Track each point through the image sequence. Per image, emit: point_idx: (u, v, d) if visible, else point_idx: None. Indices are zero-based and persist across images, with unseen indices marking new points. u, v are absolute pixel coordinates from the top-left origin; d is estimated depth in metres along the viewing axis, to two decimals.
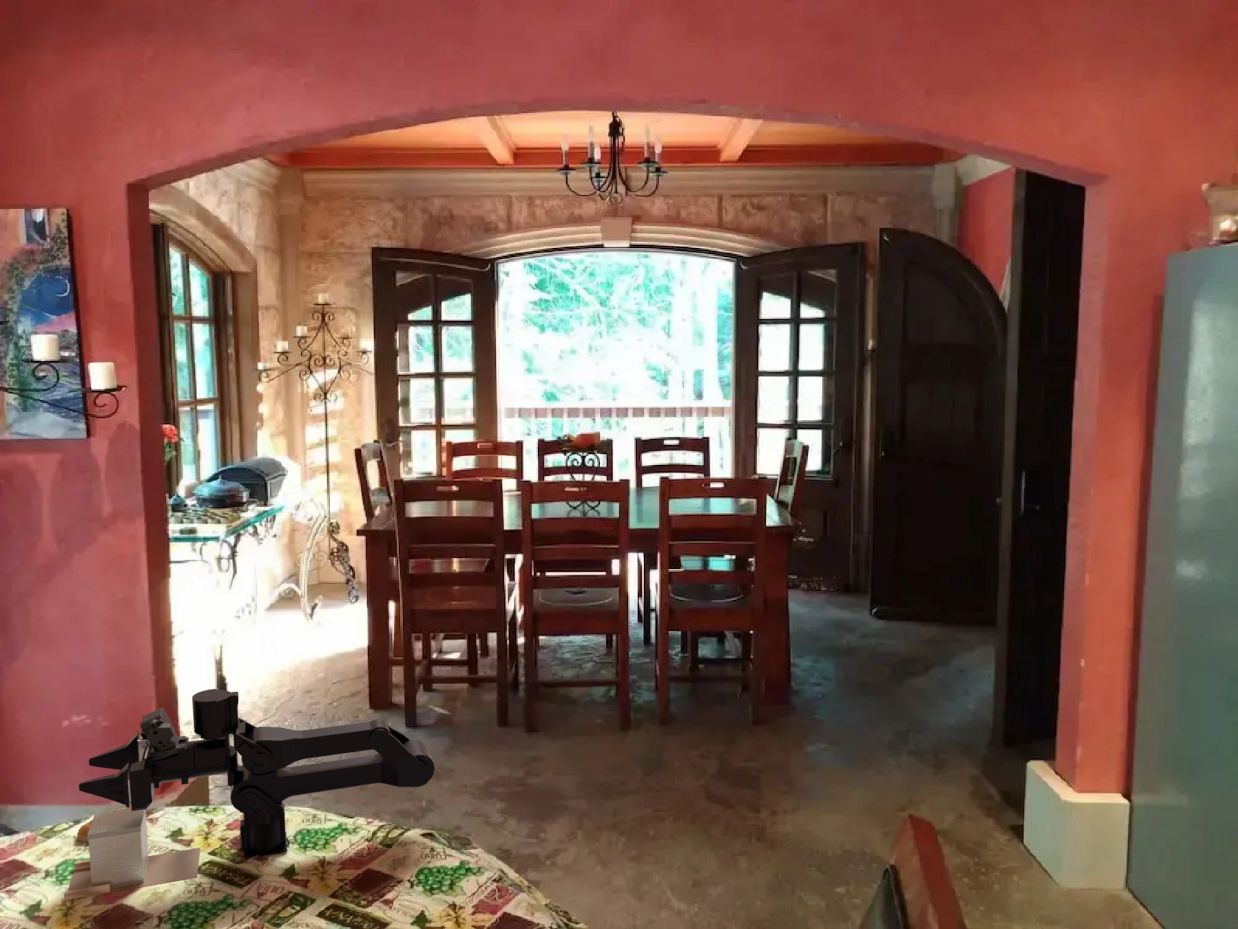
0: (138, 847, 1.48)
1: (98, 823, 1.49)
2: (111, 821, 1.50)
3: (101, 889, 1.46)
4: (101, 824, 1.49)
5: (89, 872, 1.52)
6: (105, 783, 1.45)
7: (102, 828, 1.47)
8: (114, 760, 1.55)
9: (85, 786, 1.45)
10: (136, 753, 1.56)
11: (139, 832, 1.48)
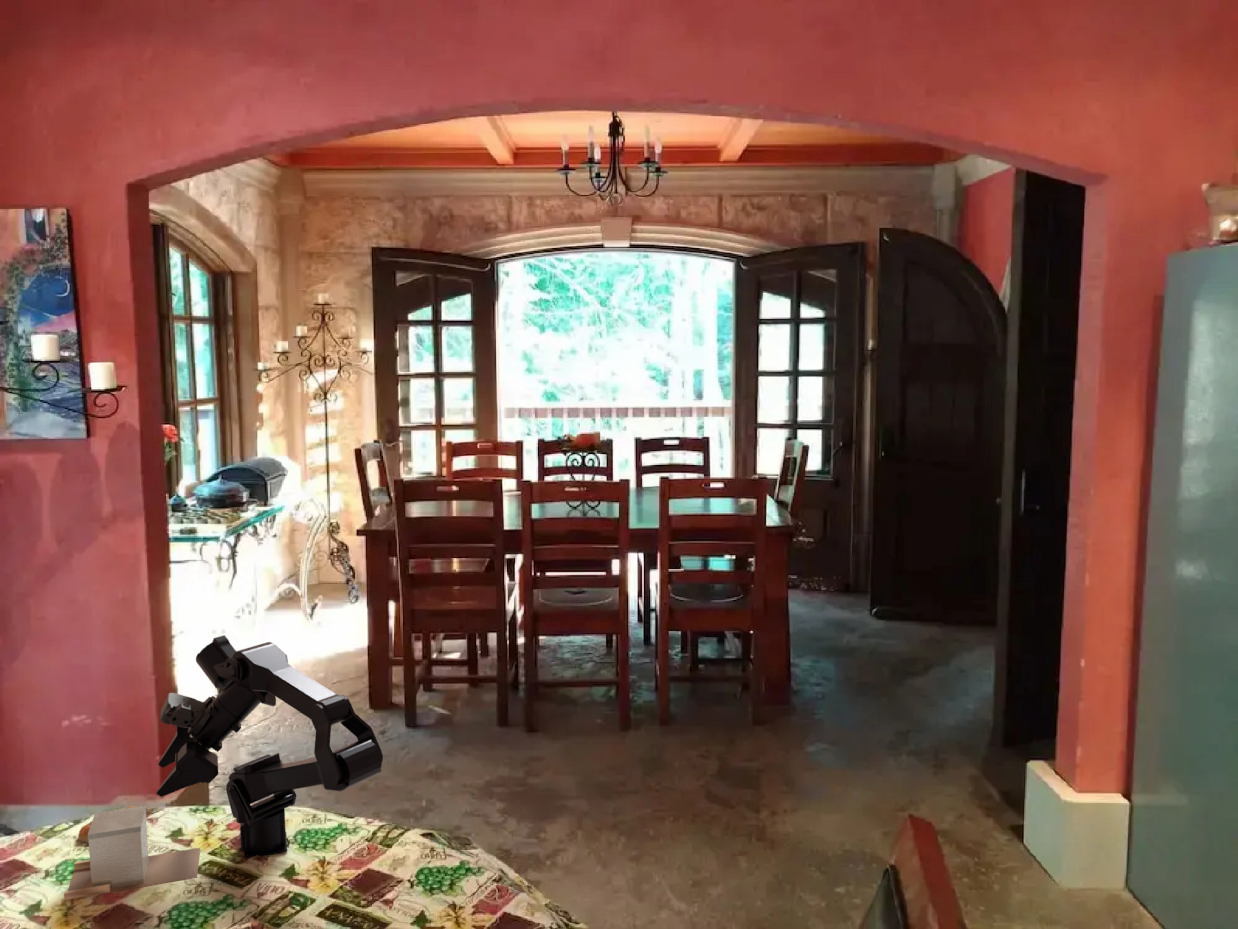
0: (138, 847, 1.48)
1: (98, 823, 1.49)
2: (111, 821, 1.50)
3: (101, 889, 1.46)
4: (101, 824, 1.49)
5: (89, 872, 1.52)
6: (173, 779, 1.52)
7: (102, 828, 1.47)
8: (177, 750, 1.62)
9: (162, 791, 1.52)
10: None
11: (139, 832, 1.48)
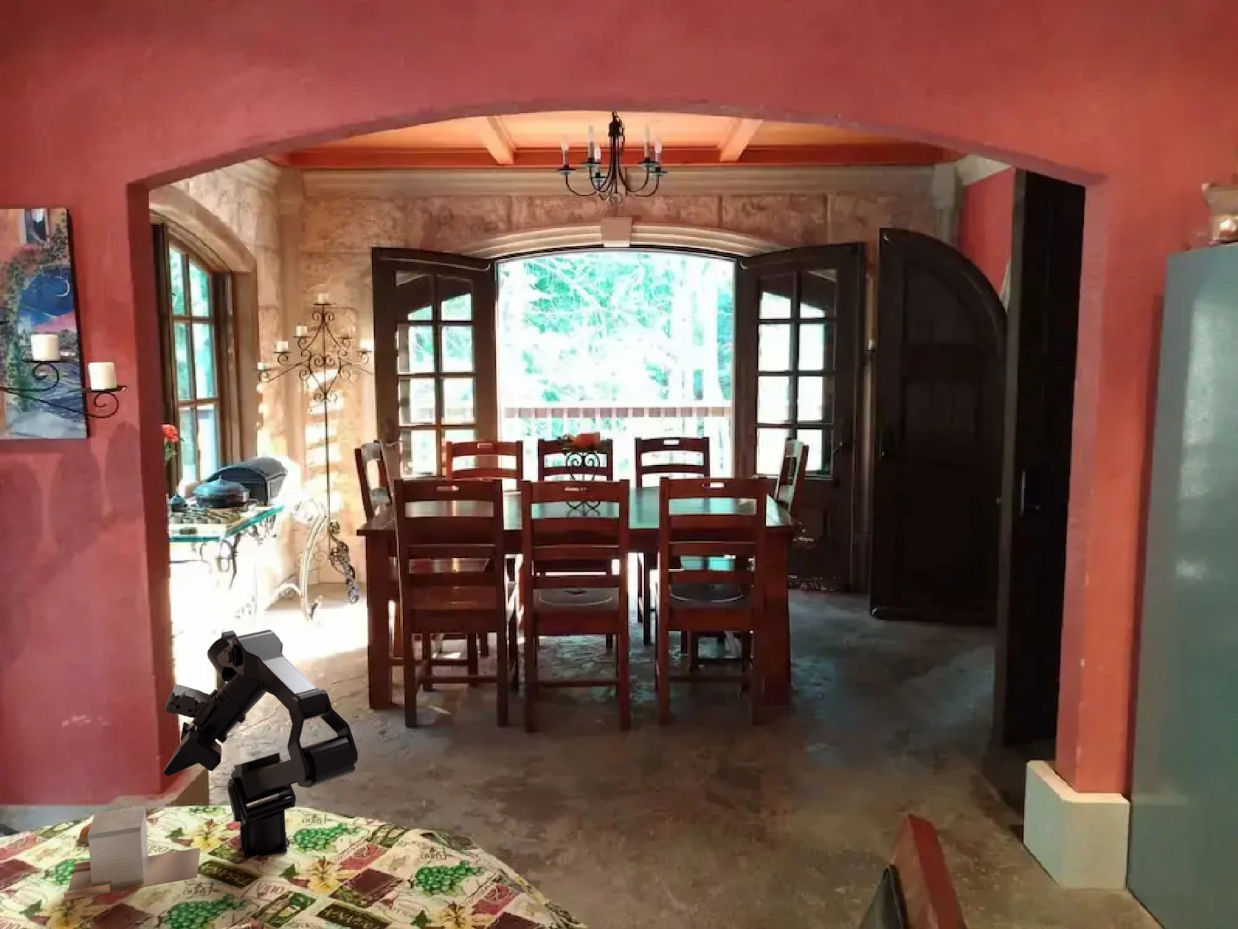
0: (138, 847, 1.48)
1: (98, 823, 1.49)
2: (111, 821, 1.50)
3: (101, 889, 1.46)
4: (101, 824, 1.49)
5: (89, 872, 1.52)
6: (179, 757, 1.55)
7: (102, 828, 1.47)
8: None
9: (168, 770, 1.56)
10: None
11: (139, 832, 1.48)
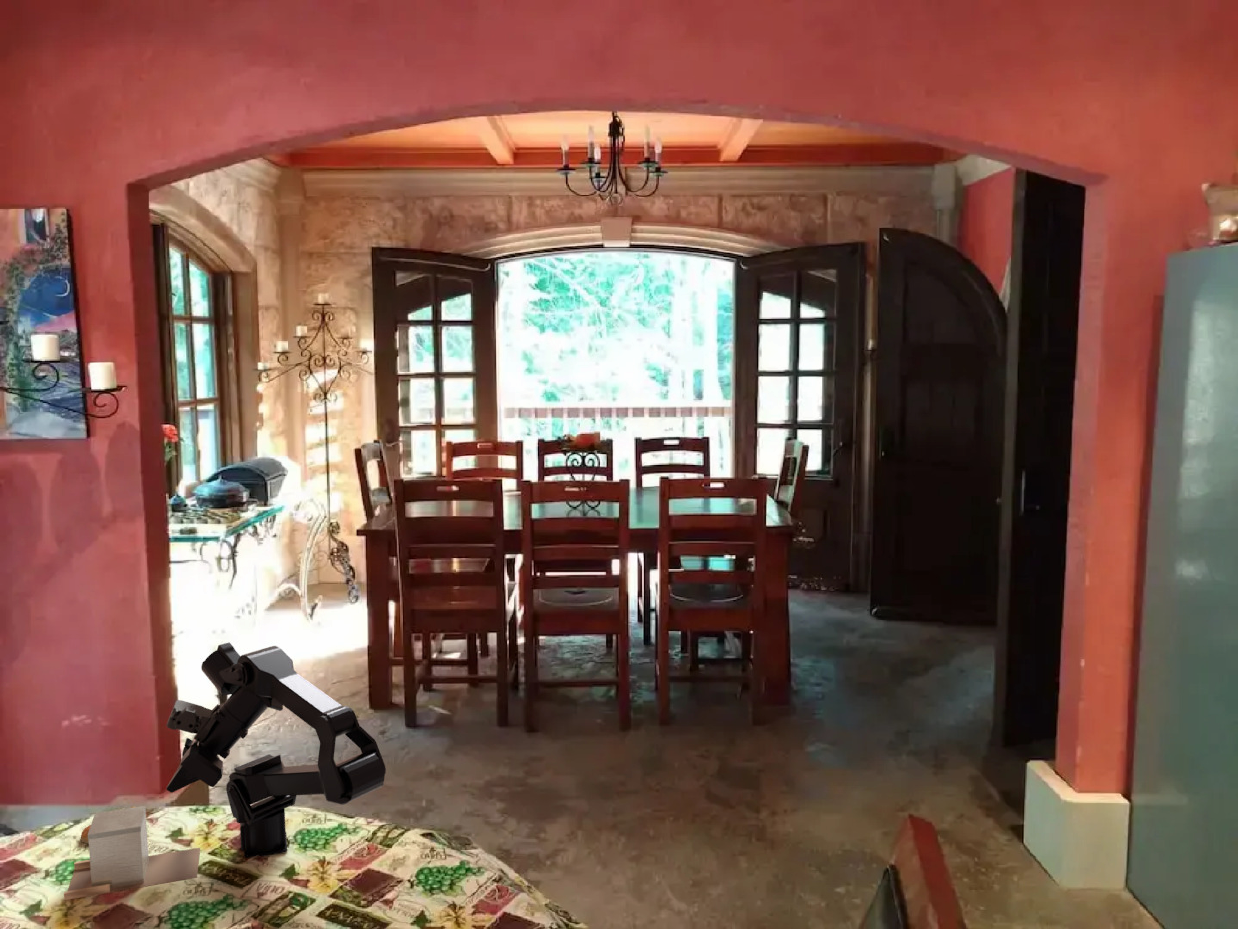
0: (138, 847, 1.48)
1: (98, 823, 1.49)
2: (111, 821, 1.50)
3: (101, 889, 1.46)
4: (101, 824, 1.49)
5: (89, 872, 1.52)
6: (181, 773, 1.55)
7: (102, 828, 1.47)
8: None
9: (171, 786, 1.55)
10: None
11: (139, 832, 1.48)
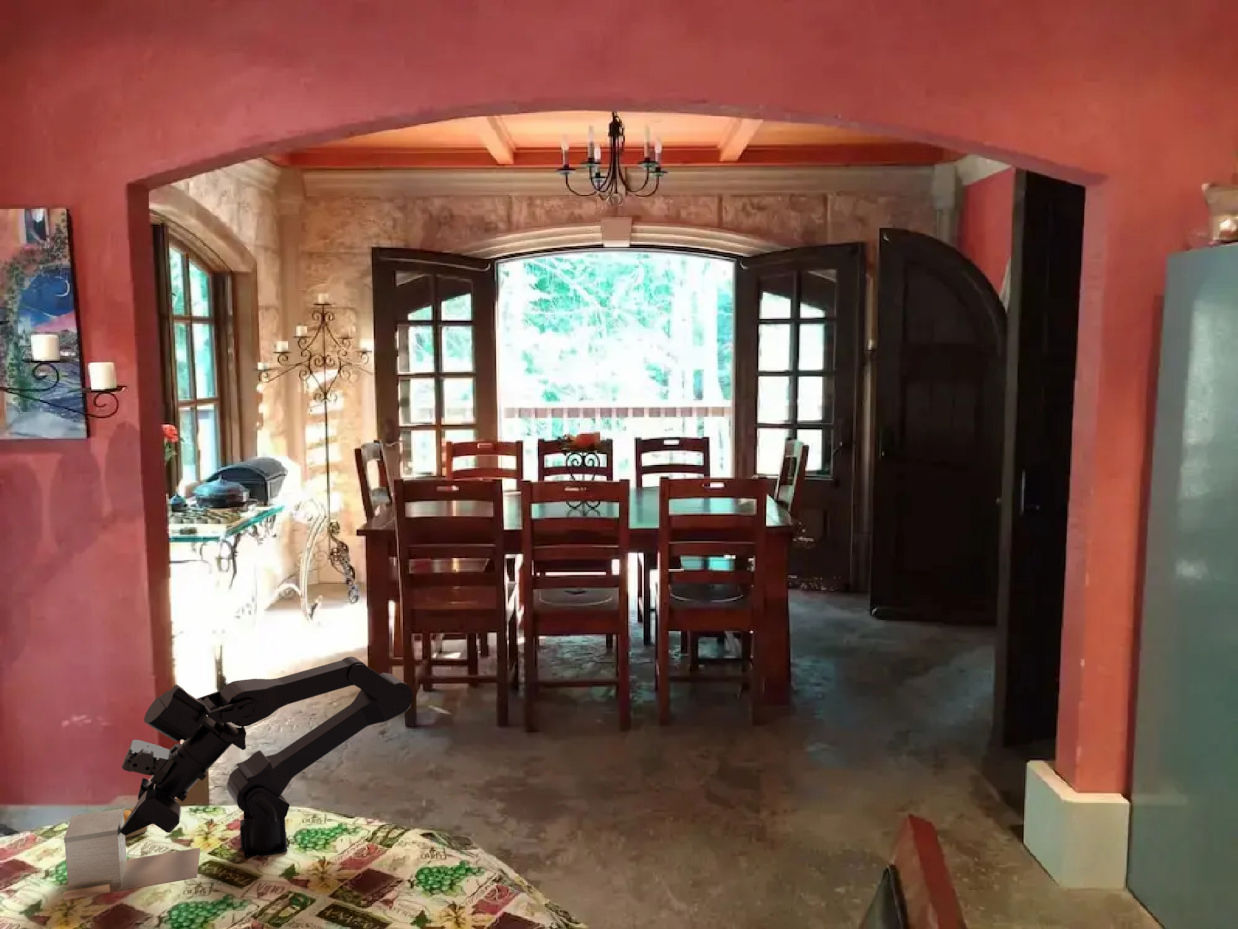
0: (116, 851, 1.47)
1: (75, 826, 1.48)
2: (88, 824, 1.49)
3: (101, 889, 1.46)
4: (78, 827, 1.48)
5: None
6: (137, 816, 1.50)
7: (79, 831, 1.46)
8: None
9: (126, 829, 1.50)
10: None
11: (116, 835, 1.47)
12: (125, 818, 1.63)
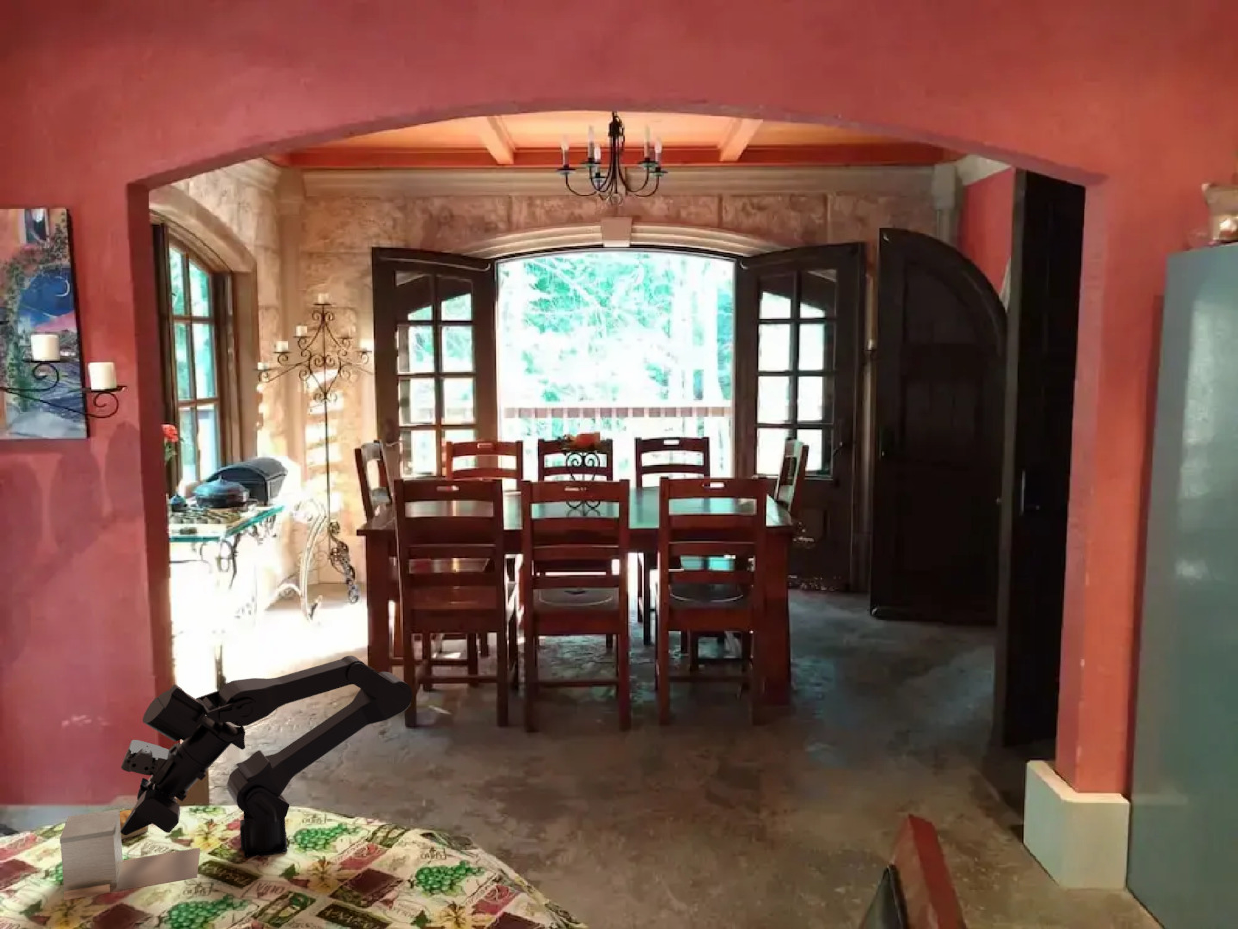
0: (111, 851, 1.47)
1: (71, 827, 1.48)
2: (84, 824, 1.48)
3: (101, 889, 1.46)
4: (74, 828, 1.47)
5: None
6: (136, 816, 1.50)
7: (75, 832, 1.46)
8: None
9: (125, 829, 1.50)
10: None
11: (112, 836, 1.47)
12: (126, 818, 1.63)
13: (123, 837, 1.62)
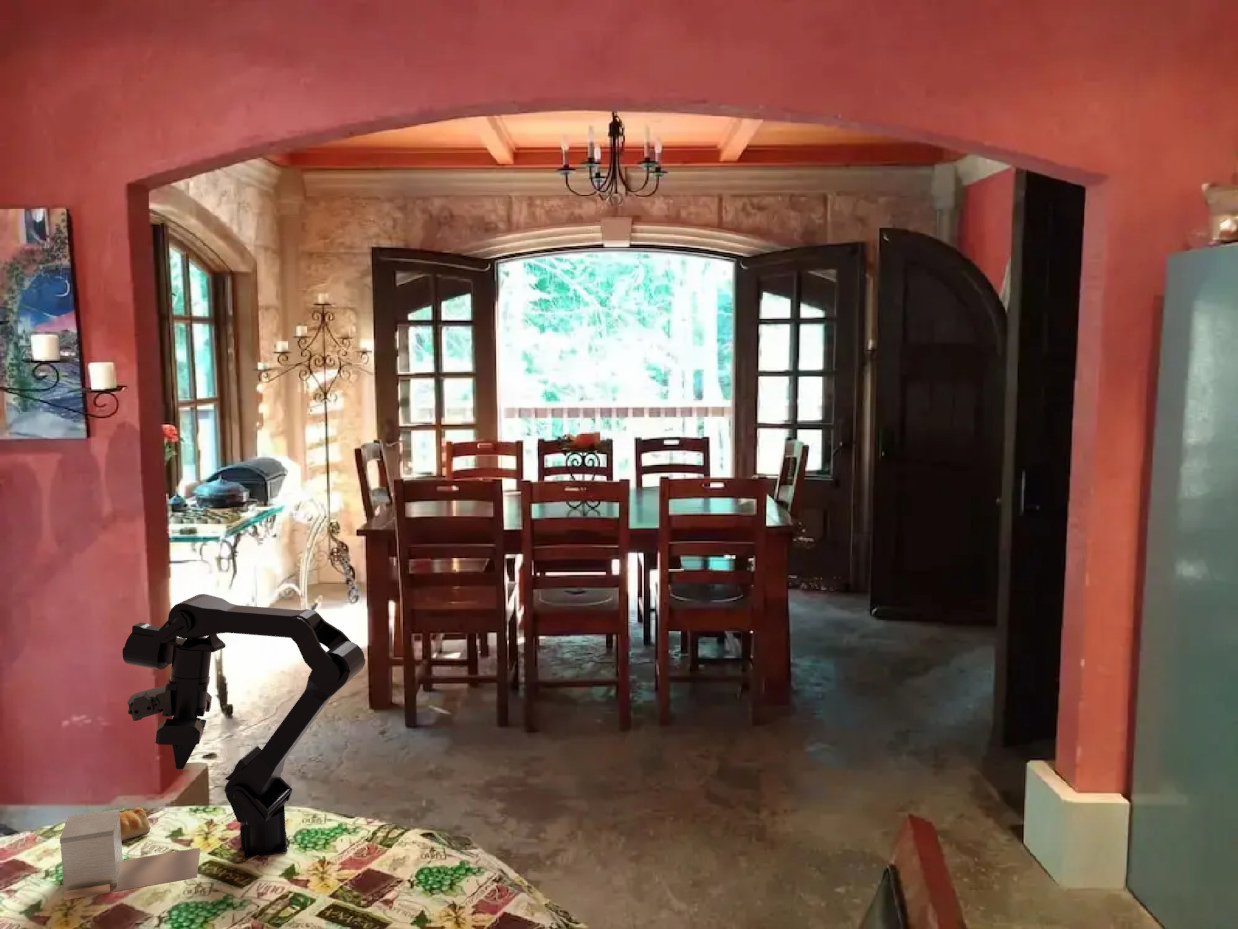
0: (111, 851, 1.47)
1: (71, 827, 1.48)
2: (84, 824, 1.48)
3: (101, 889, 1.46)
4: (74, 828, 1.47)
5: None
6: (177, 749, 1.57)
7: (75, 832, 1.46)
8: None
9: (178, 764, 1.58)
10: None
11: (112, 836, 1.47)
12: (128, 819, 1.63)
13: (125, 838, 1.62)
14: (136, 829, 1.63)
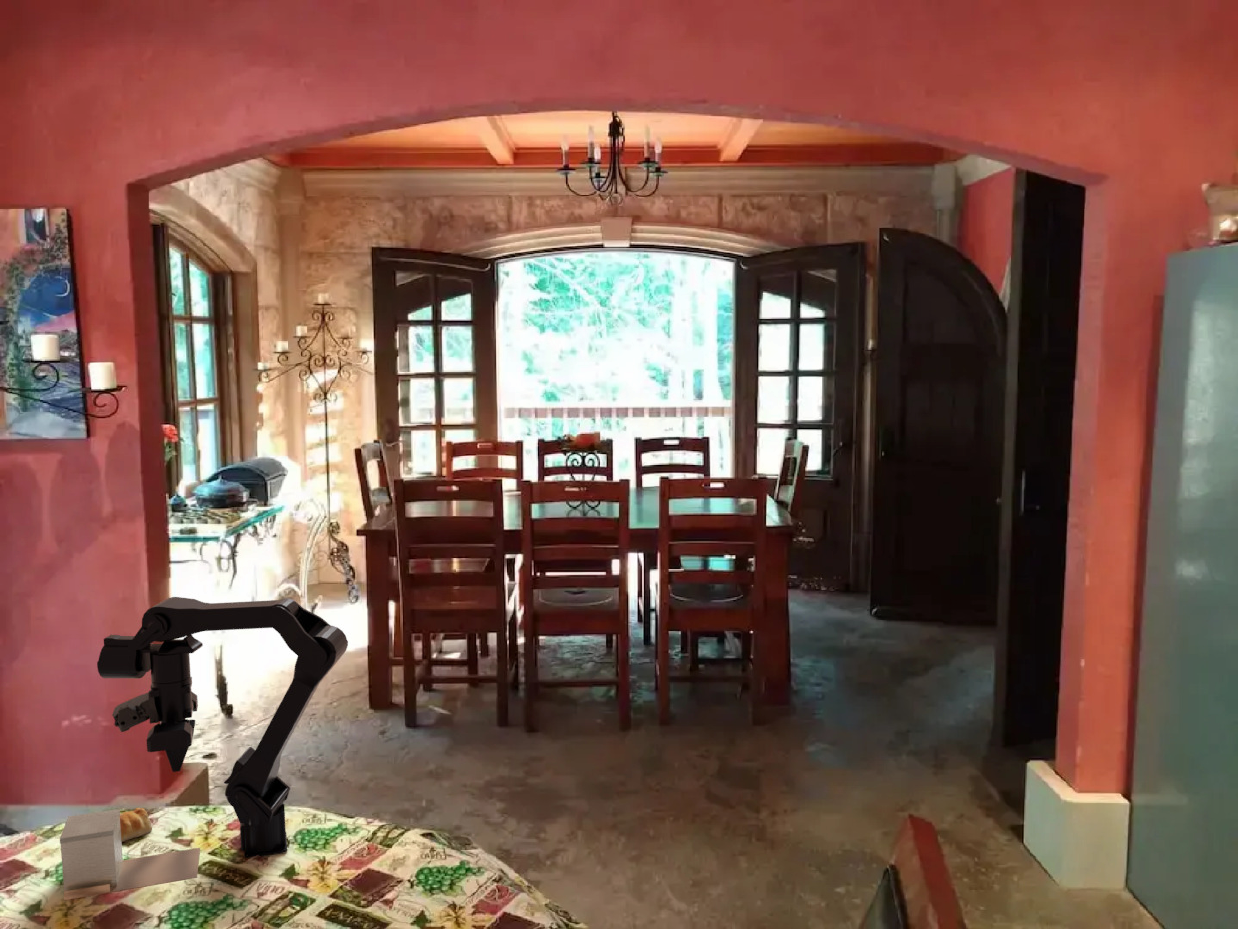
0: (111, 851, 1.47)
1: (71, 827, 1.48)
2: (84, 824, 1.48)
3: (101, 889, 1.46)
4: (74, 828, 1.47)
5: None
6: (171, 753, 1.57)
7: (75, 832, 1.46)
8: None
9: (174, 767, 1.58)
10: None
11: (112, 836, 1.47)
12: (130, 819, 1.63)
13: (128, 838, 1.62)
14: (138, 829, 1.63)
